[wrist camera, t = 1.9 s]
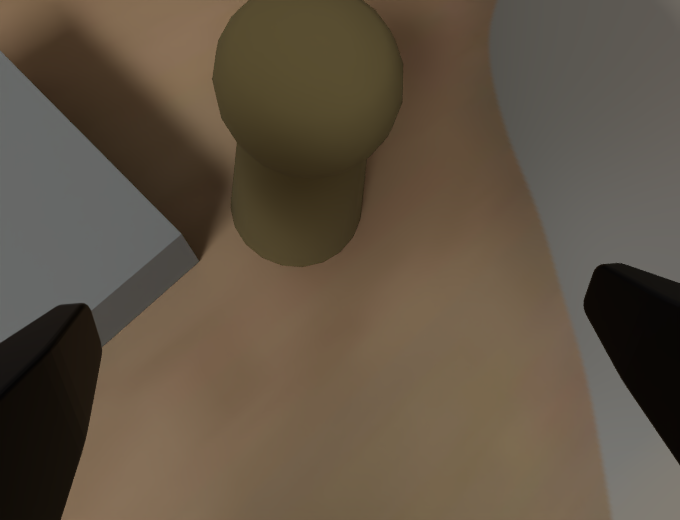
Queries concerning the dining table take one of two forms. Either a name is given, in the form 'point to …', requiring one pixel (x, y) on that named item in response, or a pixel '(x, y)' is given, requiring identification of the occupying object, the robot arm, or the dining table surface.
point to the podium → (73, 221)
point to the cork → (304, 119)
